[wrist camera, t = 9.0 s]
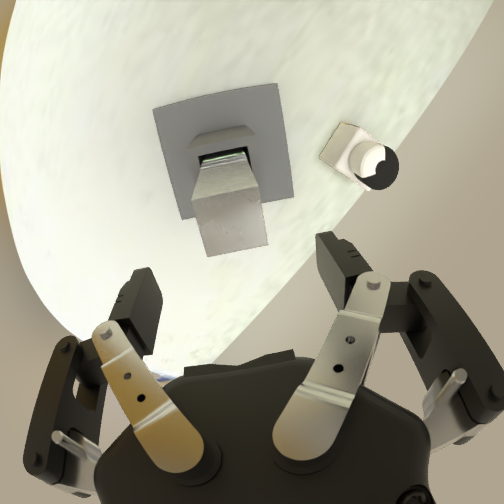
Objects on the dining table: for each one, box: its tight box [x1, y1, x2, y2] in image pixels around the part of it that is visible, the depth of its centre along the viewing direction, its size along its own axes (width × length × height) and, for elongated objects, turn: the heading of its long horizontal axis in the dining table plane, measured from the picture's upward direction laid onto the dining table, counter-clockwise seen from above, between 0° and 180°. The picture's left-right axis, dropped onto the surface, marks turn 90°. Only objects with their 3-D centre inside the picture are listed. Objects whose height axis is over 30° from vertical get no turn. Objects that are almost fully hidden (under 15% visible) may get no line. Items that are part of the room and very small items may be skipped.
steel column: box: [191, 147, 268, 257], centre depth 25 cm, size 4×4×18 cm
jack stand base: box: [153, 83, 294, 220], centre depth 33 cm, size 18×18×14 cm
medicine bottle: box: [319, 123, 399, 191], centre depth 36 cm, size 7×7×12 cm
